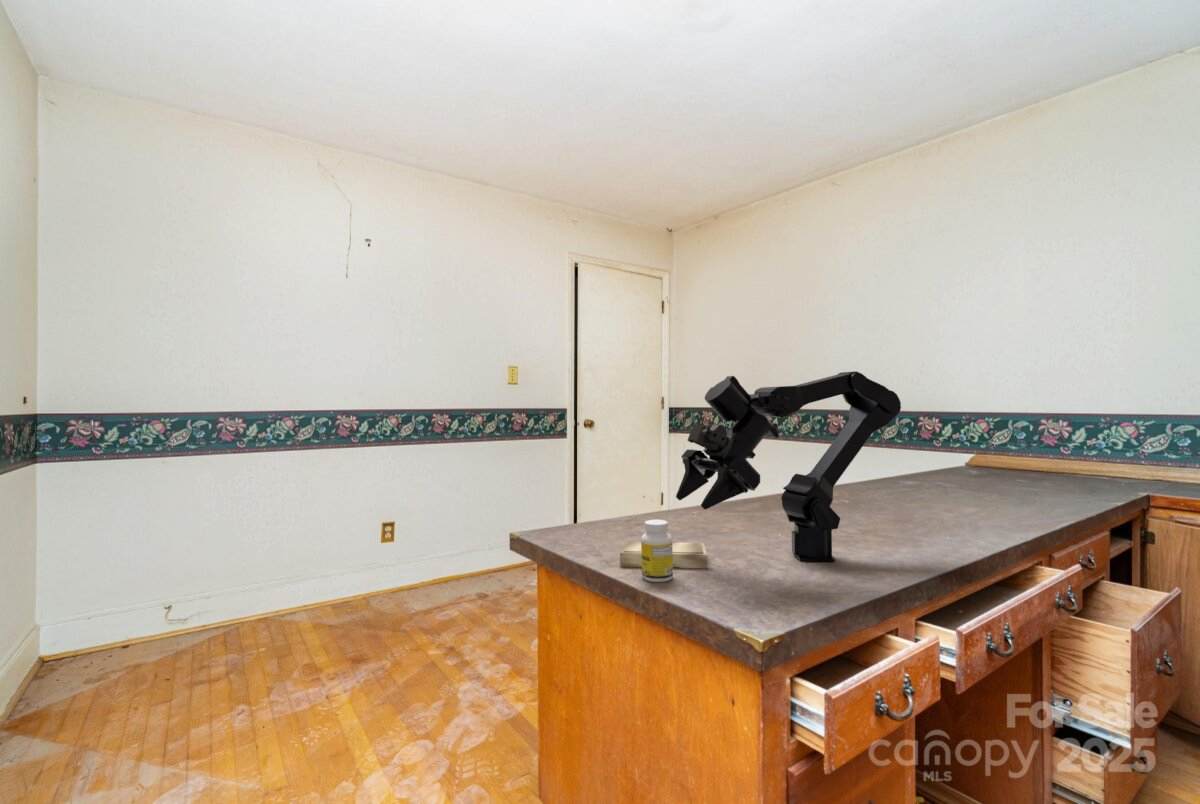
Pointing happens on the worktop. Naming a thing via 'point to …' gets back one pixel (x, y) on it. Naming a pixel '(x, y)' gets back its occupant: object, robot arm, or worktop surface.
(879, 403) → the robot arm
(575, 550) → the worktop surface
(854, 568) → the worktop surface
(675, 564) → the birch plinth
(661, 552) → the supplement bottle
